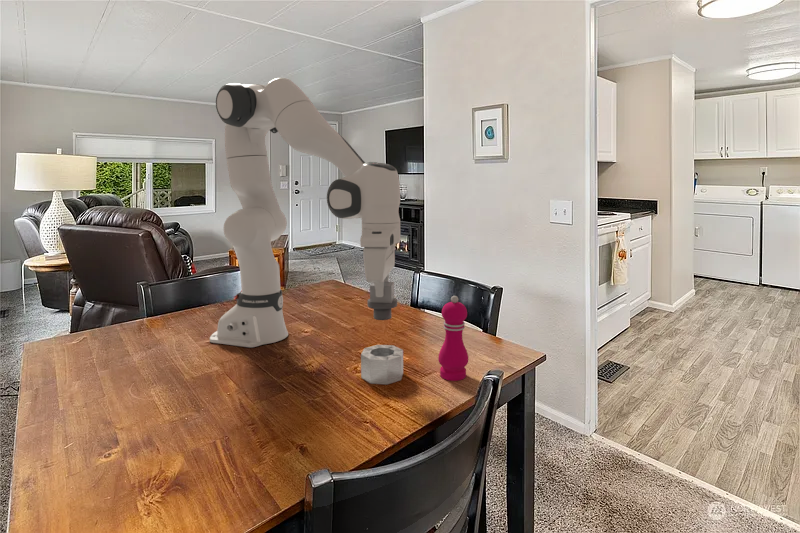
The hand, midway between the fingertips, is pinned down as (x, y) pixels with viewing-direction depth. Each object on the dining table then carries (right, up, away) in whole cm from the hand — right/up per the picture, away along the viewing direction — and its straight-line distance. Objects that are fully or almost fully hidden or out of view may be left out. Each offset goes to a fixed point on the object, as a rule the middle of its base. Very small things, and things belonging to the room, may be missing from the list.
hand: (382, 293), depth 109 cm
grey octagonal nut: (0, -20, +4) cm, 21 cm away
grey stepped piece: (0, -6, +1) cm, 6 cm away
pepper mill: (+17, -20, +4) cm, 27 cm away
